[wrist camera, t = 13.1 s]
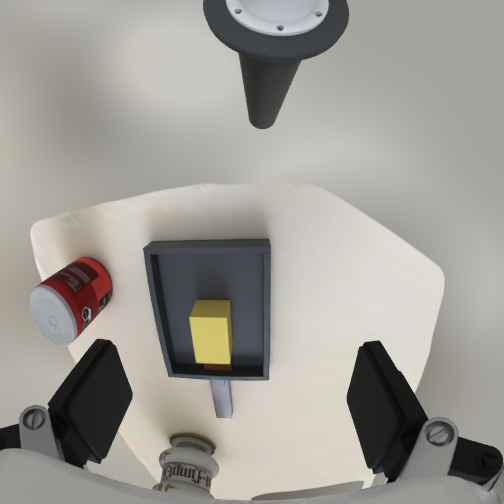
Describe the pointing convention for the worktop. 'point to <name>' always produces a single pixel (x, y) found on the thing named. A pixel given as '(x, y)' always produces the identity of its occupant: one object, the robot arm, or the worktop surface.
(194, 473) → the apothecary jar
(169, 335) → the pan
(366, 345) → the robot arm
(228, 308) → the sponge
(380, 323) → the worktop surface
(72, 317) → the canned food
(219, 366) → the plate
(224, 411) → the pan handle
